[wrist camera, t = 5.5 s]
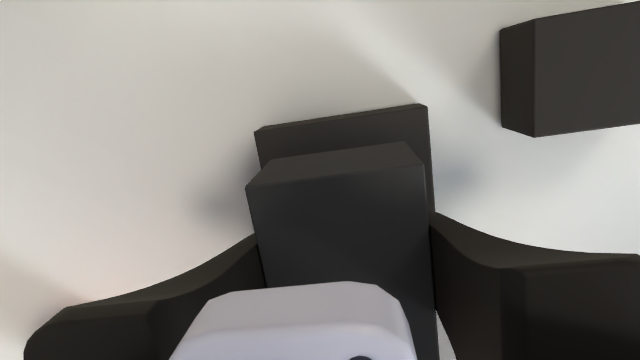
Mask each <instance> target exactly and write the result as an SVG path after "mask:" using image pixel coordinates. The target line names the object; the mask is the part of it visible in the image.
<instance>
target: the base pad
mask: <svg viewBox="0 0 640 360" xmlns="http://www.w3.org/2000/svg"><path fill="white" fill-rule="evenodd" d="M254 136H255V141H256V146H257V151H258V156H259V161H260V165H261V170H262V168H263V167H264V166H265V165H266V164H267V163H268V162H269V161H270V160H271V159H277V158H285V157H292V156H299V155H306V154H314V153H321V152H328V151H336V150H343V149H350V148H357V147H365V146H372V145H379V144H386V143H394V142H401V141H404V142H405V143H406V144H407V145H408V146H409V147H410V149H411V150H412V151H413V152H414V153H415V155H416V156H417V157H418V158H419V159H420V161H421V162H422V163H423V164H424V169H425V182H426V195H427V207H428V212H435V202H434V188H433V175H432V161H431V148H430V134H429V120H428V107H427V106H425V105H422V104H419V103H418V104H411V105H405V106H398V107H391V108H384V109H378V110H371V111H364V112H358V113H351V114H344V115H337V116H331V117H324V118H317V119H311V120H304V121H297V122H291V123H284V124H277V125H270V126H264V127H262V128H260V129H258V130H256V131H255V132H254Z"/></svg>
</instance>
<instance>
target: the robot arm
mask: <svg viewBox="0 0 640 360" xmlns="http://www.w3.org/2000/svg"><path fill="white" fill-rule="evenodd" d="M428 220H429V232H430V245H431V257H432V270H433V283H434V295H435V308H436V311H437V313H438V316H439V318H440V320H441V322H442V325H443V327H444V329H445V331H446V334H447V336H448V338H449V340H450V343H451V345H452V348H453V350H454V353H455V356H456V359H457V360H640V255H638V254H619V253H585V252H574V251H563V250H555V249H547V248H541V247H536V246H530V245H525V244H520V243H516V242H512V241H508V240H505V239H501V238H498V237H494V236H491V235H488V234H486V233H483V232H480V231H478V230H475V229H473V228H470V227H468V226H466V225H463V224H461V223H459V222H457V221H455V220H453V219H450V218H448V217H446V216H444V215H442V214H440V213H437V212H428ZM24 360H417V356H416V352H415V348H414V344H413V340H412V335H411V331H410V327H409V323H408V321H407V318H406V316H405V314H404V312H403V309H402V307H401V305H400V302H399V301H398V300H397V299H396V298H394V297H393V296H391V295H390V294H388V293H387V292H386V291H384V290H383V289H381V288H380V287H378V286H377V285H373V284H366V283H359V282H351V281H342V282H331V283H321V284H310V285H299V286H288V287H277V288H267V286H266V281H265V277H264V272H263V268H262V263H261V259H260V254H259V250H258V245H257V241H256V236H255V233H254V234H252V235H250V236H248V237H247V238H245V239H243V240H242V241H240V242H239V243H237V244H235V245H234V246H232V247H231V248H229V249H227V250H226V251H224V252H223V253H221V254H219V255H217V256H216V257H214V258H212V259H210V260H209V261H207V262H205V263H203V264H202V265H200V266H198V267H196V268H194V269H192V270H189V271H187V272H185V273H183V274H181V275H178V276H176V277H174V278H171V279H168V280H166V281H163V282H160V283H158V284H155V285H152V286H150V287H147V288H144V289H140V290H137V291H134V292H131V293H127V294H123V295H120V296H116V297H112V298H108V299H103V300H99V301H94V302H89V303H84V304H80V305H75V306H69V307H66V308H64V309H62V310H61V311H60V312H59V313H57V314H56V315H55V316H54V317H53V318H51V319H50V320H49V321H48V322H46V323H45V324H44V325H43V326H41V327H40V328H39V329H38V330H37V331H35V332H34V334H33V335H32V336H31V337H30V338H29V340H28V341H27V344H26V346H25V349H24Z"/></svg>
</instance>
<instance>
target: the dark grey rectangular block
mask: <svg viewBox="0 0 640 360" xmlns="http://www.w3.org/2000/svg"><path fill="white" fill-rule="evenodd" d="M500 64H501V116H502V127H503V128H506V129H509V130H512V131H515V132H518V133H521V134H524V135H527V136H531V137H534V138H536V137H543V136H551V135H558V134H566V133H574V132H581V131H589V130H596V129H604V128H611V127H619V126H626V125H634V124H640V1H636V2H630V3H624V4H618V5H612V6H606V7H601V8H595V9H589V10H583V11H577V12H571V13H565V14H560V15H554V16H548V17H542V18H536V19H532V20H529V21H526V22H523V23H520V24H516V25H513V26H510V27H507V28H504V29H501V30H500Z"/></svg>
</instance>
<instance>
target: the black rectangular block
mask: <svg viewBox="0 0 640 360" xmlns="http://www.w3.org/2000/svg"><path fill="white" fill-rule="evenodd" d="M245 191H246V196H247V200H248V205H249V209H250V214H251V218H252V223H253V227H254V232H255V236H256V241H257V245H258V250H259V254H260V259H261V263H262V268H263V272H264V277H265V281H266V286H267V288H277V287H288V286H299V285H310V284H321V283H331V282H342V281H351V282H359V283H366V284H373V285H377V286H378V287H380V288H381V289H383V290H384V291H386V292H387V293H388V294H390V295H391V296H393V297H394V298H396V299H397V300H398V301H399V302H400V305H401V307H402V309H403V312H404V314H405V316H406V318H407V321H408V323H409V327H410V331H411V335H412V340H413V344H414V348H415V352H416V356H417V360H440V358H439V346H438V333H437V320H436V308H435V295H434V283H433V270H432V257H431V245H430V232H429V220H428V207H427V195H426V182H425V169H424V164H423V163H422V162H421V161H420V159H419V158H418V157H417V156H416V155H415V153H414V152H413V151H412V150H411V149H410V147H409V146H408V145H407V144H406V143H405V142H404V141H401V142H394V143H386V144H379V145H372V146H365V147H357V148H350V149H343V150H336V151H328V152H321V153H314V154H306V155H299V156H292V157H285V158H277V159H271V160H270V161H269V162H268V163H267V164H266V165H265V166H264V167H263V168H262V170H261V171H260V172H259V173H258V174H257V175H256V176H255V177H254V178H253V179H252V180H251V181H250V182H249V183H248V184H247V185H246V186H245Z"/></svg>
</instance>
